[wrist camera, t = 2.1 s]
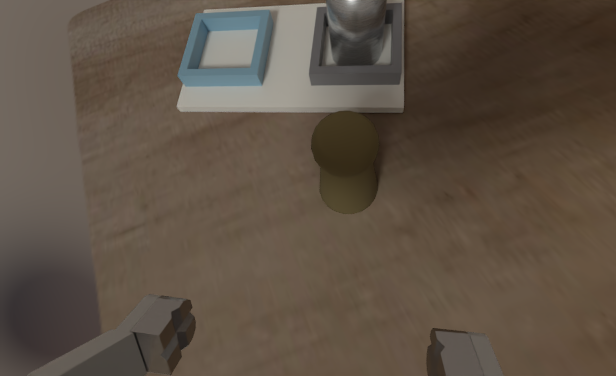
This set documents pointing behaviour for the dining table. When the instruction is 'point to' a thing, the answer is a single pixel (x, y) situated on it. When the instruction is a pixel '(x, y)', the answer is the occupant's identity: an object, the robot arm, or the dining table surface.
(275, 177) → the dining table surface
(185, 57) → the pallet board
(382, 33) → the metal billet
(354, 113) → the cork
